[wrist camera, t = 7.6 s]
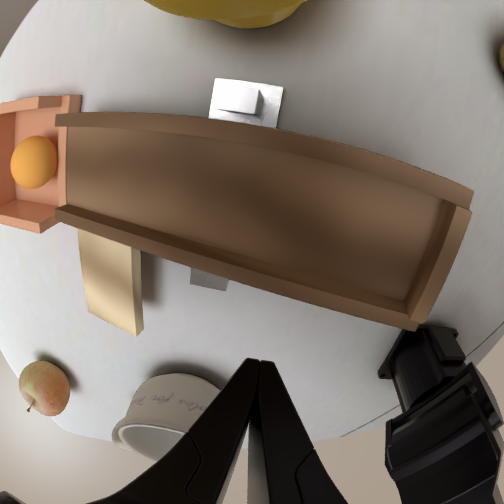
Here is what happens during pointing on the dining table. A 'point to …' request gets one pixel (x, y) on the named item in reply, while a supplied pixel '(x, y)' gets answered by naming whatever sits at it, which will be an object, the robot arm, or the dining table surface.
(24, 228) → the peach open tray
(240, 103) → the seesaw stand
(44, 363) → the fruit
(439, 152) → the dining table surface
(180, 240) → the lever
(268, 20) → the plant pot
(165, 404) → the teacup
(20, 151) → the ball
